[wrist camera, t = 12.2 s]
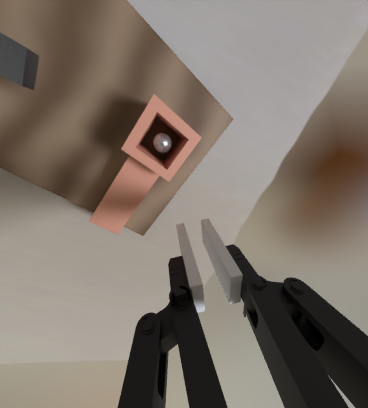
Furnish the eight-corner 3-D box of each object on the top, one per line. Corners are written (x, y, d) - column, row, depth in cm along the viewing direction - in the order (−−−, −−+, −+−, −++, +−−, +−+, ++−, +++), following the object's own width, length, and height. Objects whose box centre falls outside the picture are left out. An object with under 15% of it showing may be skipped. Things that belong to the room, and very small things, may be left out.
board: (-42, 140, 17) (-56, 141, 16) (26, -103, 12) (12, -127, 11) (143, 231, 26) (143, 235, 25) (229, 119, 21) (233, 119, 20)
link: (126, 224, 24) (117, 251, 18) (92, 208, 22) (71, 232, 16) (189, 136, 20) (201, 137, 14) (154, 105, 18) (154, 93, 12)
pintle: (151, 141, 20) (149, 144, 15) (158, 130, 20) (160, 129, 14) (162, 150, 21) (164, 156, 16) (169, 139, 21) (175, 141, 15)
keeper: (7, 69, 15) (-105, 21, 9) (10, 42, 15) (-111, -33, 8) (73, 103, 17) (22, 86, 11) (78, 81, 17) (27, 47, 10)
